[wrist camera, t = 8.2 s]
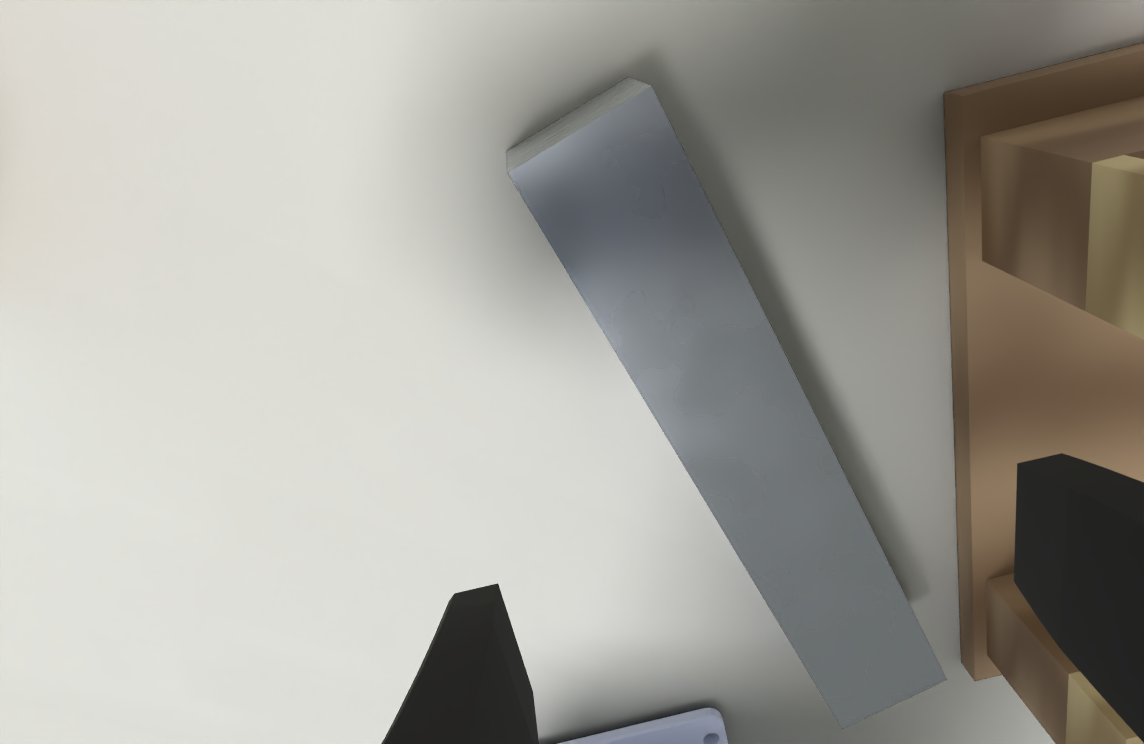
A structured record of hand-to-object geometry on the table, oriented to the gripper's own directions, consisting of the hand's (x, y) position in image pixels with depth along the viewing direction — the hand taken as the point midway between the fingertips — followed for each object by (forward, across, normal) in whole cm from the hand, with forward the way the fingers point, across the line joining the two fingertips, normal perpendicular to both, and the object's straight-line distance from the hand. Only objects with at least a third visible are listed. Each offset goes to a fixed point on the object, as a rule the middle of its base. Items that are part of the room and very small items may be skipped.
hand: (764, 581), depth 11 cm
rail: (+10, -2, +3) cm, 11 cm away
